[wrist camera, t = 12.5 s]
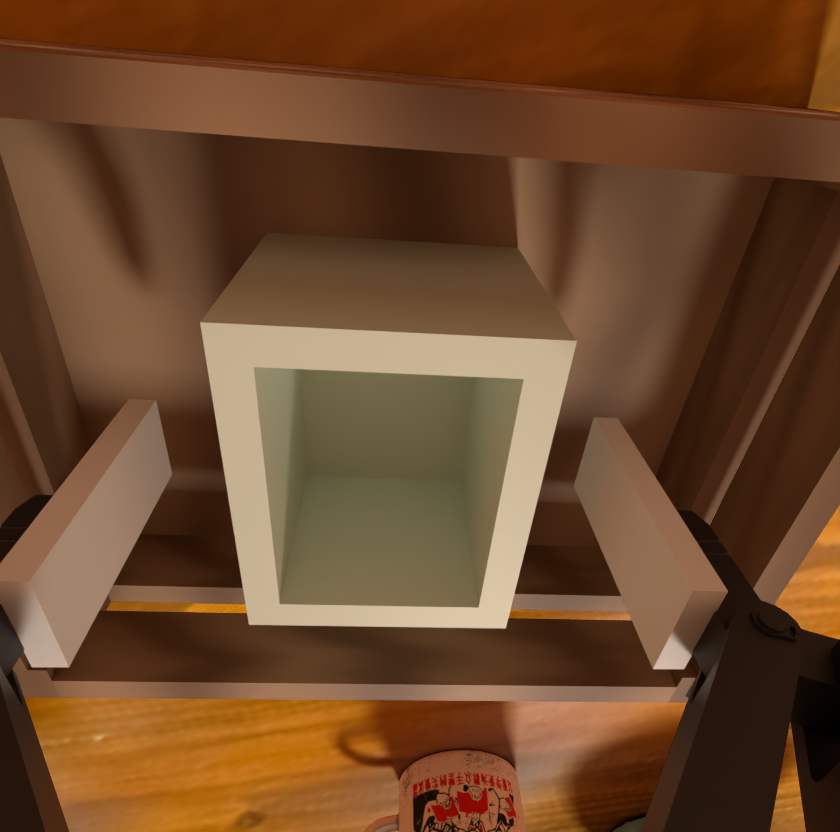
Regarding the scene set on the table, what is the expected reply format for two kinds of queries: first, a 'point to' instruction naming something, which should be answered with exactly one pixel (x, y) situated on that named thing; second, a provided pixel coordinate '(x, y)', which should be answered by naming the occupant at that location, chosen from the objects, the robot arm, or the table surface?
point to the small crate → (384, 427)
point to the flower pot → (631, 826)
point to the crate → (422, 222)
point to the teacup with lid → (457, 795)
